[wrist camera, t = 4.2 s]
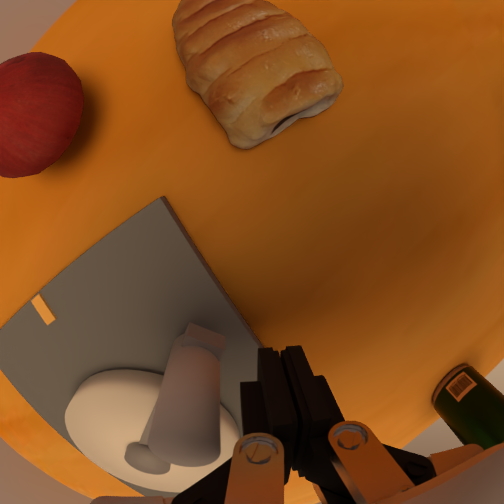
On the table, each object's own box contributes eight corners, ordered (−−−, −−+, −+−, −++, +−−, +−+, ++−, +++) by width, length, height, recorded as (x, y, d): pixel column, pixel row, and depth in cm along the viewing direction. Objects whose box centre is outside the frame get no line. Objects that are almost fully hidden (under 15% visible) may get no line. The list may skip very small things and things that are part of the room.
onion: (16, 133, 11) (-77, 124, 4) (76, 60, 11) (-4, 5, 3) (59, 196, 13) (-47, 217, 5) (127, 117, 12) (39, 66, 4)
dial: (204, 485, 18) (204, 549, 11) (72, 437, 16) (46, 498, 9) (309, 356, 15) (353, 452, 8) (100, 269, 13) (19, 338, 6)
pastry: (146, 38, 11) (127, 3, 8) (246, -13, 11) (253, -51, 7) (242, 162, 14) (248, 154, 10) (344, 100, 13) (378, 79, 9)
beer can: (422, 397, 19) (491, 484, 7) (463, 353, 18) (545, 427, 7) (438, 412, 20) (496, 485, 9) (474, 374, 20) (540, 438, 8)
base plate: (164, 196, 13) (158, 197, 12) (332, 438, 19) (336, 448, 18) (-10, 341, 14) (-17, 347, 13) (152, 492, 20) (151, 501, 19)
